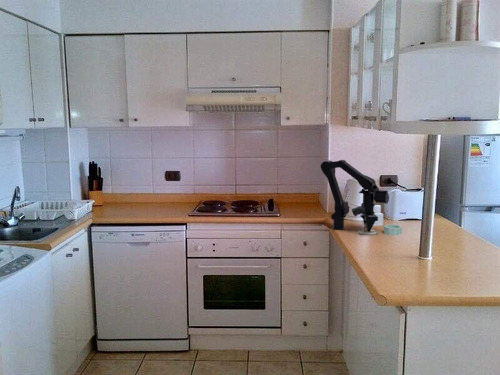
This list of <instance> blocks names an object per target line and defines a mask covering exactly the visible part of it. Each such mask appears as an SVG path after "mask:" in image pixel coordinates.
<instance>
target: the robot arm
mask: <svg viewBox="0 0 500 375" xmlns="http://www.w3.org/2000/svg"><path fill="white" fill-rule="evenodd" d="M338 168H340V169H341V170H343V171H344V172H345V173H346V174H348V175H350V176H351V177H352V178H353V179H355V180H356V181H357V183H358V184H359V186H360V187H361V190H360V191H359V192H358V193H359V194H362V203H361V204H360V205H359V206H357V207H354V208H351V207H350V206H349V202H348V201H345V200H344V199H343V195H342V193H341V190H340V187H339V184H338V183H339V182H338V180H337V178H336V169H338ZM320 169H321V172H322V173H323V175H324V176H325V177H326V179H327V182H328V186H329V188H330V192H331V195H332V198H333V200H334V206H333V208H334V212H333V213H332V214H331V215H330V218H331V220H333V222H332V223H333V224H332V227H331V229H333V231H346V228H345V218H346V217H347V215H348V214H349V212H350V209H351V213H352V215H353V216H354V217H357V216H359V217H361V219H362V221H363V224H364V223H367V230H368V232H370V230H371V229H372V228H374V226H373V225H374V223H375V221H378V217H377V216H376V215H375V214H374V206H375V204H387V205H388V203H389V201H390V195H389V191H388V190H380V188H379V187H378V186H377V184H376V180H375V179H374V178H372V177H370V176H368V175H365V174H364V173H361V171H359V170H358V169H356V168H355V167H354V166H353V165H351V164H350V163H348V162H347V161H346V160H345V159H340V160H336V161H333V160H325V161H322V163H321V164H320Z"/></svg>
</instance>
